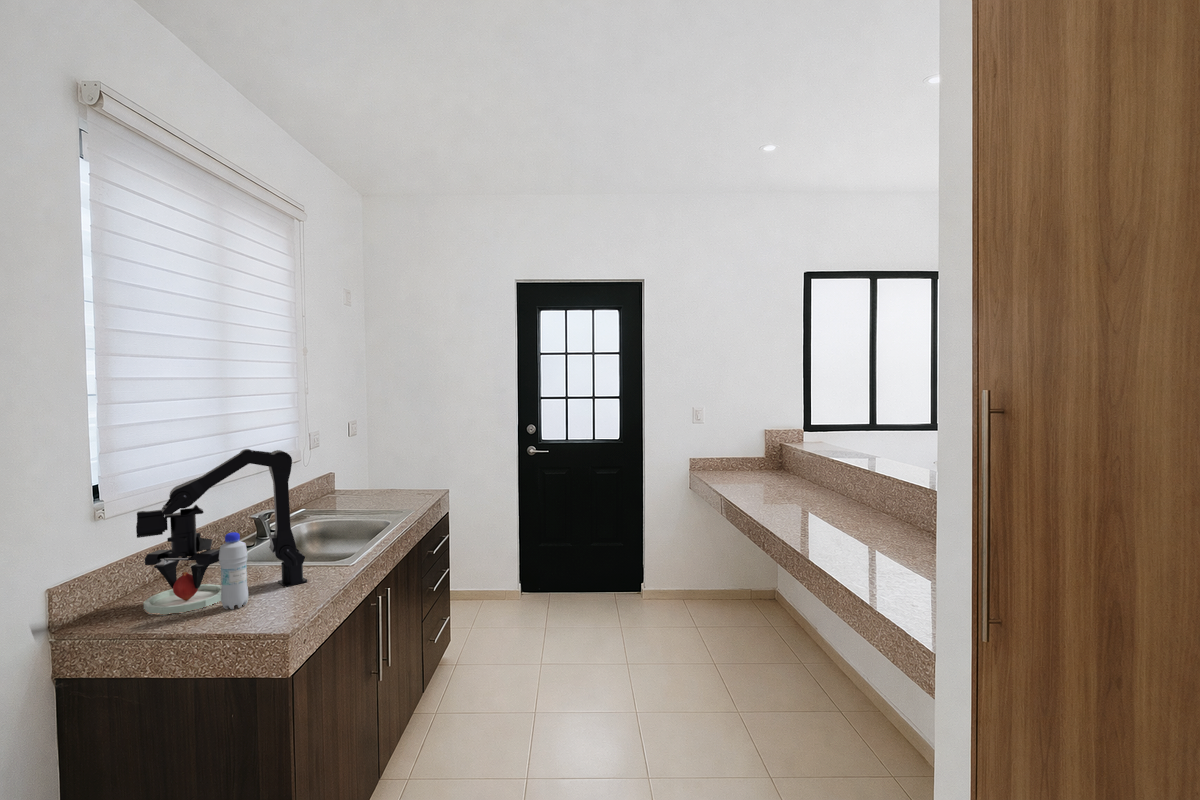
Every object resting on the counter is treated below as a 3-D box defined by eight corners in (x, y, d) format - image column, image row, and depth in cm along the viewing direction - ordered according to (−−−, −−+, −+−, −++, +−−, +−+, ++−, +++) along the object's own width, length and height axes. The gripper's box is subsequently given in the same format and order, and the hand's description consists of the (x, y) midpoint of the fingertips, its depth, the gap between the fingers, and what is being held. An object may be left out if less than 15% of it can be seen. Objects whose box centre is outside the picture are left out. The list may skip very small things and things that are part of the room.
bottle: (228, 612, 159) (225, 536, 159) (215, 608, 163) (212, 533, 162) (254, 604, 165) (252, 531, 164) (241, 600, 168) (238, 528, 168)
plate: (233, 601, 168) (233, 593, 168) (153, 620, 155) (153, 612, 155) (214, 586, 180) (213, 580, 180) (138, 603, 167) (138, 596, 167)
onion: (181, 597, 170) (180, 568, 170) (203, 596, 171) (202, 567, 170) (168, 604, 164) (167, 575, 164) (191, 603, 165) (190, 574, 165)
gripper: (235, 524, 174) (237, 578, 175) (172, 525, 175) (175, 578, 176) (208, 534, 163) (210, 592, 164) (141, 534, 164) (144, 592, 165)
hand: (185, 588), depth 167 cm, fingers open, 6 cm apart
